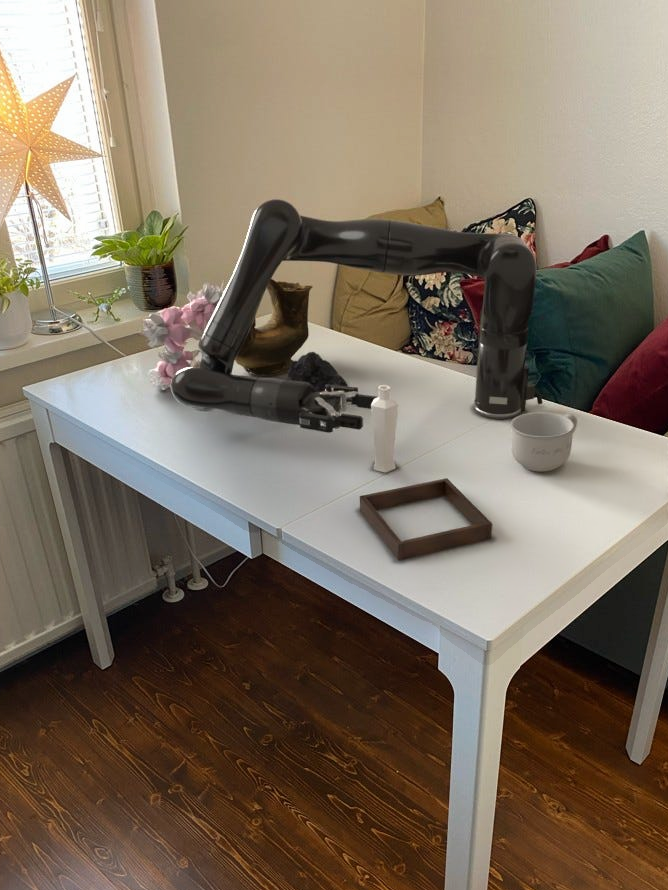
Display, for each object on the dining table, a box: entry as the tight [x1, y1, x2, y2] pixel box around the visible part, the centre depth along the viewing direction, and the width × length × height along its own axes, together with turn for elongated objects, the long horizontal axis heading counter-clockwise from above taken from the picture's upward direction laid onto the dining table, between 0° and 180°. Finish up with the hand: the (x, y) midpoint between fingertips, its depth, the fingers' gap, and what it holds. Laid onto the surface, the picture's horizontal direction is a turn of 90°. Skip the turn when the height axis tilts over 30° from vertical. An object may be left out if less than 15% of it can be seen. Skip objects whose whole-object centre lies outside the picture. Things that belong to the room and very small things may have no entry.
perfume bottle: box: [370, 384, 399, 474], centre depth 150 cm, size 5×4×15 cm
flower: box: [136, 278, 233, 391], centre depth 177 cm, size 20×22×25 cm
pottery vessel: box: [234, 278, 314, 377], centre depth 188 cm, size 25×11×20 cm, turn 138°
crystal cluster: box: [286, 351, 349, 403], centre depth 176 cm, size 13×14×10 cm
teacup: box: [510, 411, 578, 473], centre depth 154 cm, size 14×11×8 cm
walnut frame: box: [359, 477, 493, 561], centre depth 137 cm, size 16×16×3 cm
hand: (370, 412), depth 149 cm, fingers open, 8 cm apart
